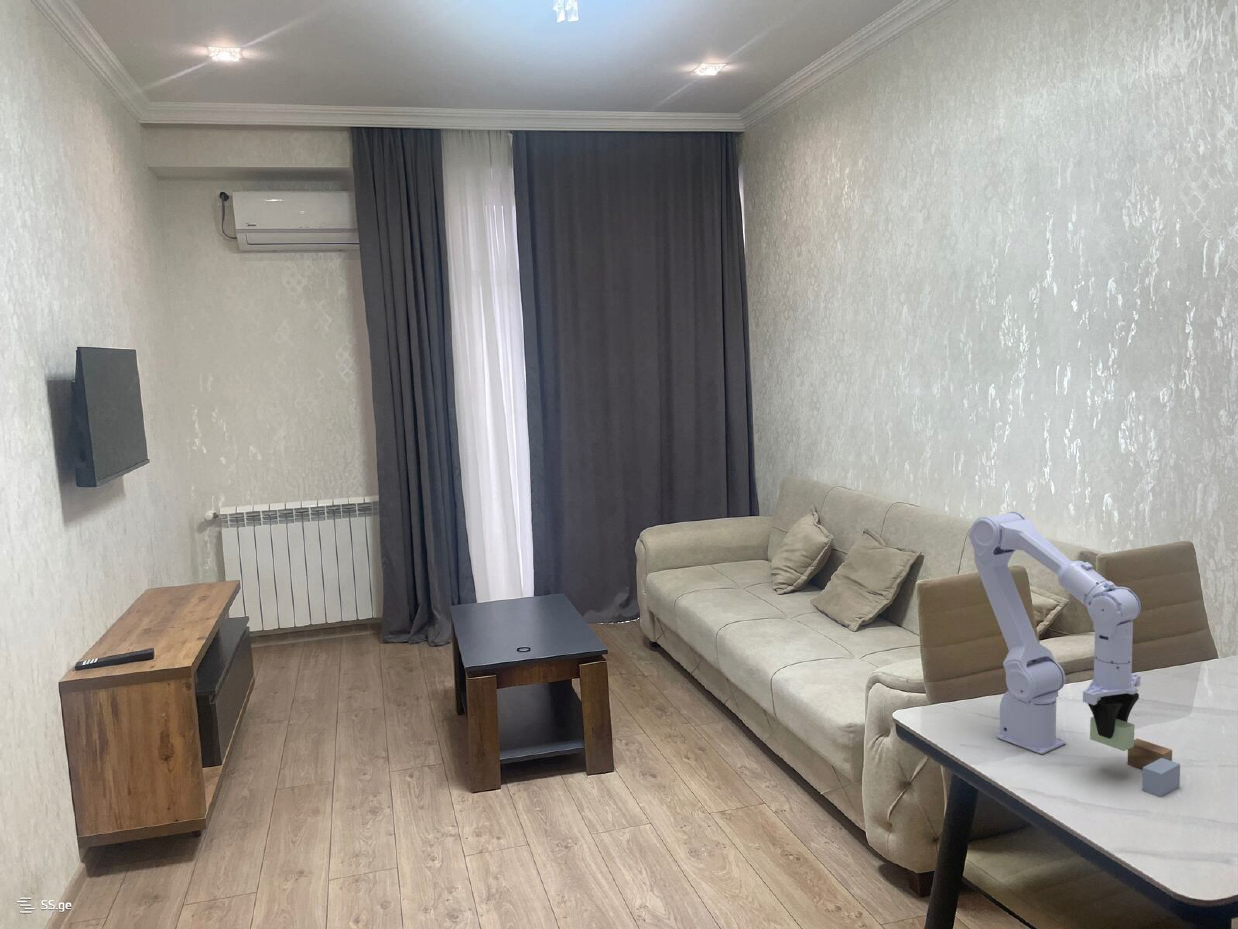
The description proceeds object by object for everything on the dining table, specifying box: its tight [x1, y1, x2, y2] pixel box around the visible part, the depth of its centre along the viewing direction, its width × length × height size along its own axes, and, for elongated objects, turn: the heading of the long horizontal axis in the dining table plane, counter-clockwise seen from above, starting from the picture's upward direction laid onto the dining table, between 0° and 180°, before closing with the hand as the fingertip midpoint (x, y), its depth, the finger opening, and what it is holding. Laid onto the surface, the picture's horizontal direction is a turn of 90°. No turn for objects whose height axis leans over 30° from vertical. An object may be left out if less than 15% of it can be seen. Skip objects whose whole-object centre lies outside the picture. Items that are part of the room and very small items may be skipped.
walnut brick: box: [1127, 738, 1173, 770], centre depth 158 cm, size 6×3×4 cm, turn 32°
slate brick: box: [1141, 758, 1181, 798], centre depth 150 cm, size 6×3×4 cm, turn 122°
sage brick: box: [1089, 716, 1135, 752], centre depth 156 cm, size 6×3×4 cm, turn 32°
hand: (1110, 733), depth 156 cm, fingers closed on sage brick, 3 cm apart
